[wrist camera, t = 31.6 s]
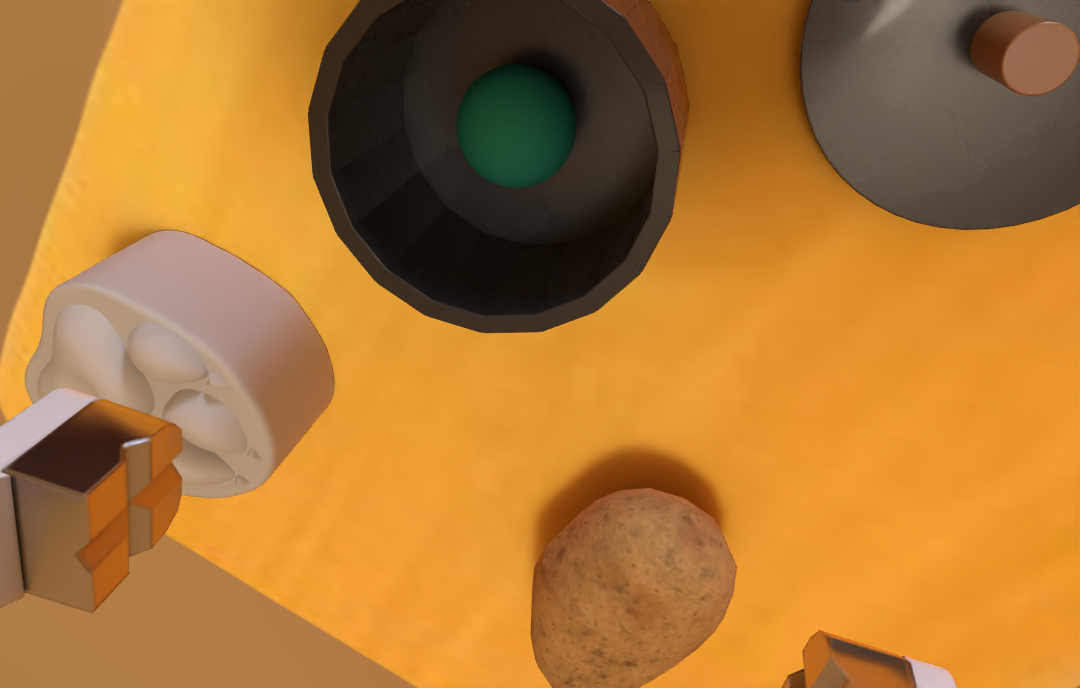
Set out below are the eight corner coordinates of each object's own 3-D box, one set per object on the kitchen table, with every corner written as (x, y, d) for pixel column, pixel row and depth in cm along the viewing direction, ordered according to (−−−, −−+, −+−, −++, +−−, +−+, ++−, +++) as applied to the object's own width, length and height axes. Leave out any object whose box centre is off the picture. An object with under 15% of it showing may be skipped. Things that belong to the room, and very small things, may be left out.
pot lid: (891, -232, 29) (923, -260, 24) (1318, -126, 28) (1434, -134, 23) (746, 167, 36) (749, 203, 31) (1080, 262, 35) (1133, 313, 30)
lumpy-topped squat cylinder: (152, 205, 43) (31, 266, 35) (366, 337, 44) (292, 423, 36) (104, 346, 48) (-11, 426, 40) (297, 461, 49) (220, 560, 41)
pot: (412, -92, 34) (325, -95, 26) (734, -4, 33) (737, 19, 26) (371, 210, 40) (293, 276, 33) (638, 290, 40) (619, 375, 32)
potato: (506, 578, 50) (471, 685, 43) (615, 415, 43) (594, 510, 36) (645, 650, 50) (633, 767, 44) (775, 500, 44) (785, 610, 37)
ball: (491, 43, 35) (450, 56, 31) (600, 75, 35) (573, 94, 30) (470, 153, 38) (429, 180, 33) (571, 186, 37) (543, 217, 33)
